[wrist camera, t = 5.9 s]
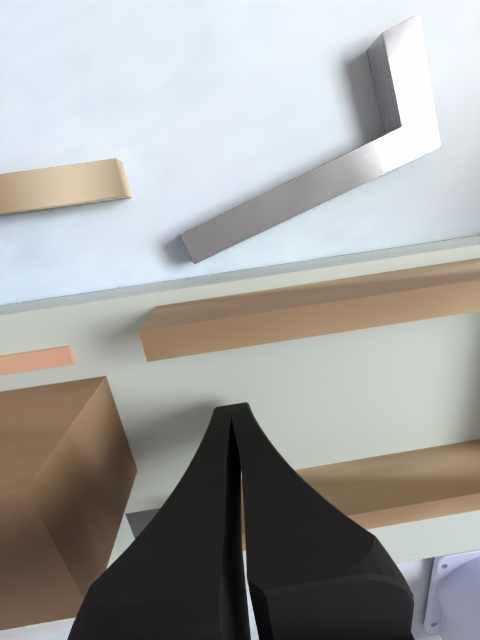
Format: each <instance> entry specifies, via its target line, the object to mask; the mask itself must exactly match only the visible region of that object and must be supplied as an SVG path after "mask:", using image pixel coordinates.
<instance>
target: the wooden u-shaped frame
mask: <svg viewBox="0 0 480 640" xmlns="http://www.w3.org/2000/svg"><path fill="white" fill-rule="evenodd" d="M476 311H480V258H477V259H470V260H463V261H456V262H450V263H443V264H436V265H429V266H423V267H416V268H409V269H403V270H396V271H389V272H382V273H376V274H369V275H362V276H356V277H349V278H342V279H335V280H329V281H322V282H315V283H309V284H302V285H295V286H288V287H282V288H275V289H268V290H261V291H255V292H248V293H241V294H235V295H228V296H221V297H214V298H208V299H201V300H194V301H188V302H181V303H174V304H167V305H161V306H156V307H155V309H154V310H153V312H152V313H151V314H150V316H149V317H148V319H147V320H146V322H145V323H144V324H143V326H142V327H141V329H140V330H139V334H140V338H141V341H142V345H143V349H144V352H145V356H146V360H147V362H151V361H157V360H164V359H170V358H177V357H183V356H190V355H196V354H203V353H209V352H216V351H222V350H229V349H235V348H242V347H248V346H255V345H261V344H268V343H274V342H281V341H287V340H294V339H300V338H307V337H313V336H320V335H326V334H333V333H339V332H346V331H352V330H359V329H365V328H372V327H378V326H385V325H391V324H398V323H404V322H411V321H417V320H424V319H430V318H437V317H443V316H450V315H456V314H463V313H469V312H476ZM295 471H296V472H297V473H298V474H299V475H300V476H301V477H302V478H303V479H304V480H305V481H306V482H307V483H308V484H309V485H310V486H311V487H312V488H314V489H315V490H316V491H317V492H318V493H319V494H320V495H322V496H323V497H324V498H325V499H326V500H327V501H328V502H330V503H331V504H332V505H333V506H335V507H336V508H337V509H339V510H340V511H341V512H342V513H344V514H345V515H346V516H348V517H349V518H350V519H352V520H353V521H354V522H356V523H357V524H359V525H360V526H361V527H363V528H364V529H366V530H367V529H373V528H379V527H384V526H390V525H396V524H402V523H407V522H413V521H419V520H425V519H431V518H436V517H442V516H448V515H454V514H460V513H465V512H471V511H477V510H480V439H478V440H472V441H466V442H460V443H454V444H448V445H442V446H436V447H430V448H424V449H418V450H412V451H406V452H400V453H393V454H387V455H381V456H375V457H369V458H363V459H357V460H351V461H345V462H339V463H333V464H327V465H321V466H315V467H309V468H303V469H297V470H295ZM241 522H242V550H243V551H245V550H246V542H245V522H244V504H243V488H242V479H241Z"/></svg>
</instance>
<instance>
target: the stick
mask: <svg viewBox="0 0 480 640" xmlns="http://www.w3.org/2000/svg"><path fill="white" fill-rule="evenodd" d="M130 197H132V196H131V192H130V188H129V184H128V180H127V176H126V172H125V168H124V164H123V162H121V161H119V160H118V159H116V158H115V159H108V160H101V161H94V162H86V163H79V164H72V165H65V166H57V167H50V168H43V169H35V170H28V171H21V172H14V173H6V174H0V216H3V215H10V214H18V213H25V212H32V211H39V210H46V209H53V208H60V207H67V206H74V205H81V204H88V203H95V202H102V201H109V200H116V199H123V198H130Z"/></svg>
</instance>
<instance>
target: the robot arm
mask: <svg viewBox="0 0 480 640" xmlns="http://www.w3.org/2000/svg"><path fill="white" fill-rule="evenodd" d="M241 474H242V488H243V504H244V522H245V542H246V566H247V582H248V586H249V591H250V596H251V601H252V606H253V611H254V616H255V621H256V626H257V631H258V635H259V640H414V638H413V635H412V633H411V625H412V617H413V608H414V600H413V594H412V592H411V590H410V588H409V586H408V584H407V582H406V580H405V578H404V577H403V575H402V573H401V572H400V570H399V569H398V567H397V566H396V564H395V562H394V561H393V559H392V558H391V556H390V555H389V554H388V552H387V551H386V549H385V548H384V547H383V545H382V544H381V542H380V541H379V540H378V538H377V537H376V536H375V535H373V534H372V533H370V532H369V531H367V530H366V529H364V528H363V527H361V526H360V525H359V524H357V523H356V522H354V521H353V520H352V519H350V518H349V517H348V516H346V515H345V514H344V513H342V512H341V511H340V510H339V509H337V508H336V507H335V506H333V505H332V504H331V503H330V502H328V501H327V500H326V499H325V498H324V497H323V496H322V495H320V494H319V493H318V492H317V491H316V490H315V489H314V488H312V487H311V486H310V485H309V484H308V483H307V482H306V481H305V480H304V479H303V478H302V477H301V476H300V475H299V474H298V473H297V472H296V471H295V470H294V469H293V468H292V467H291V466H290V465H289V464H288V463H287V462H286V460H285V459H284V458H283V457H282V456H281V454H280V453H279V452H278V451H277V449H276V448H275V447H274V446H273V444H272V443H271V442H270V440H269V439H268V438H267V436H266V435H265V433H264V432H263V430H262V429H261V427H260V425H259V424H258V422H257V420H256V419H255V417H254V415H253V413H252V411H251V408H250V405H249V404H248V403H247V402H244V403H238V404H231V405H225V406H219V407H216V408H215V409H214V410H213V414H212V417H211V420H210V422H209V425H208V427H207V430H206V432H205V434H204V437H203V439H202V441H201V443H200V445H199V447H198V449H197V451H196V453H195V455H194V457H193V459H192V461H191V462H190V464H189V466H188V468H187V470H186V471H185V473H184V475H183V476H182V478H181V479H180V481H179V482H178V484H177V486H176V487H175V489H174V490H173V492H172V493H171V494H170V496H169V497H168V499H167V500H166V501H165V503H164V504H163V505H162V507H161V508H160V510H159V511H158V512H157V513H156V515H155V516H154V517H153V519H152V520H151V521H150V522H149V523H148V525H147V526H146V527H145V528H144V529H143V530H142V532H141V533H140V534H139V535H138V536H137V537H136V539H135V540H134V541H133V542H132V543H131V544H130V546H129V547H128V548H127V549H126V550H125V551H124V552H123V553H122V554H121V555H120V556H119V557H118V558H117V559H116V560H115V561H114V562H113V563H112V564H111V565H110V566H109V567H108V568H107V569H106V570H105V571H104V573H103V574H102V575H101V576H100V577H99V578H98V579H97V580H95V581H94V582H93V583H92V584H91V585H90V586H89V589H88V591H87V593H86V596H85V598H84V600H83V602H82V604H81V607H80V609H79V611H78V613H77V616H76V618H75V621H74V623H73V626H72V628H71V631H70V634H69V637H68V640H251V636H250V626H249V615H248V605H247V594H246V583H245V572H244V561H243V550H242V522H241ZM424 630H425V632H426V634H428V635H436V634H440V636H441V638H442V639H443V640H480V549H477V550H471V551H466V552H460V553H454V554H449V555H443V556H437V557H434V562H433V569H432V575H431V582H430V588H429V595H428V601H427V608H426V614H425V621H424Z"/></svg>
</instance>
